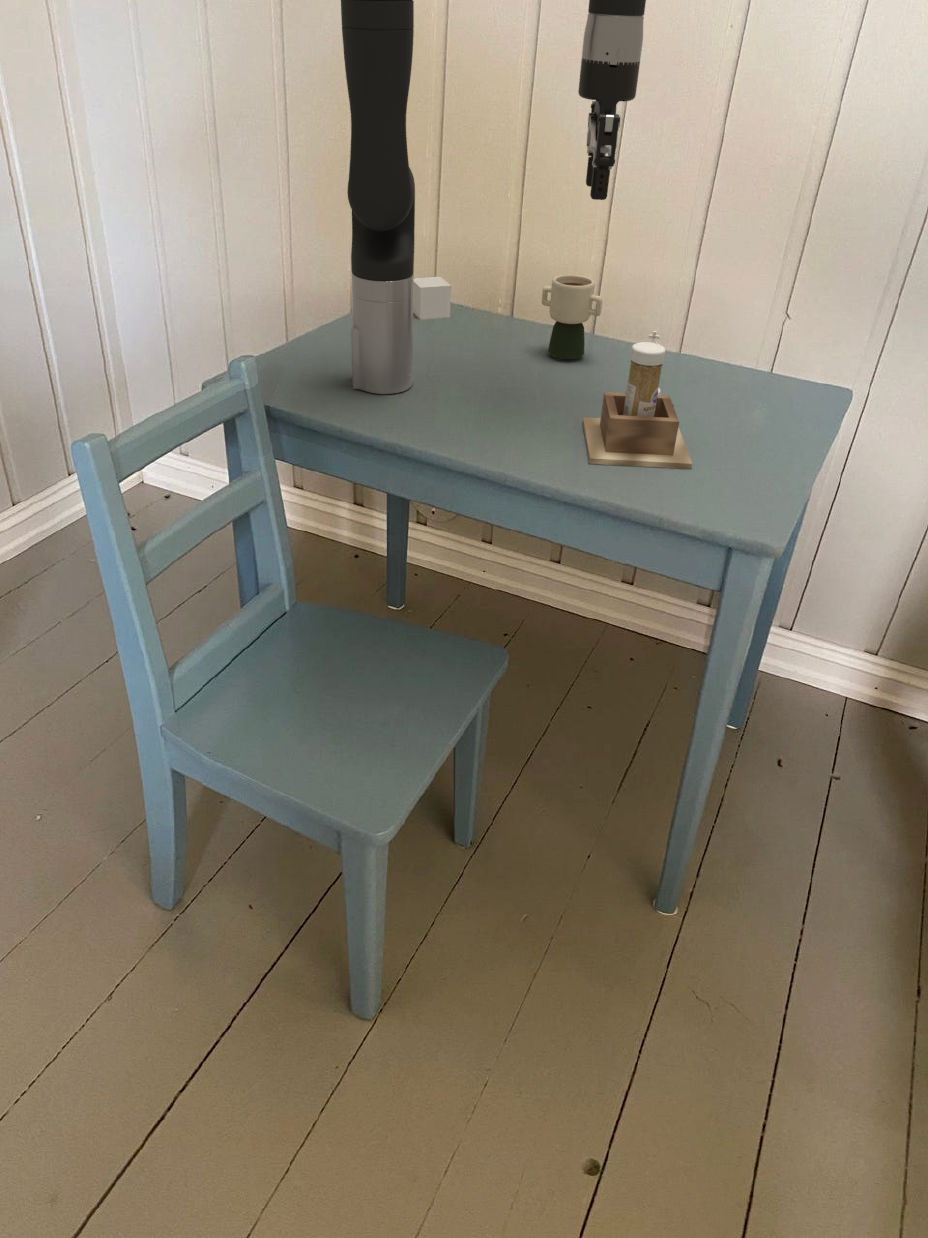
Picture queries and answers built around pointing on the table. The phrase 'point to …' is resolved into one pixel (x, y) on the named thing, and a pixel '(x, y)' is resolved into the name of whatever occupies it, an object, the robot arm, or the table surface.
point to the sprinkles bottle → (644, 379)
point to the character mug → (570, 313)
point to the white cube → (431, 298)
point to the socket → (636, 436)
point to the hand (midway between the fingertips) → (595, 192)
